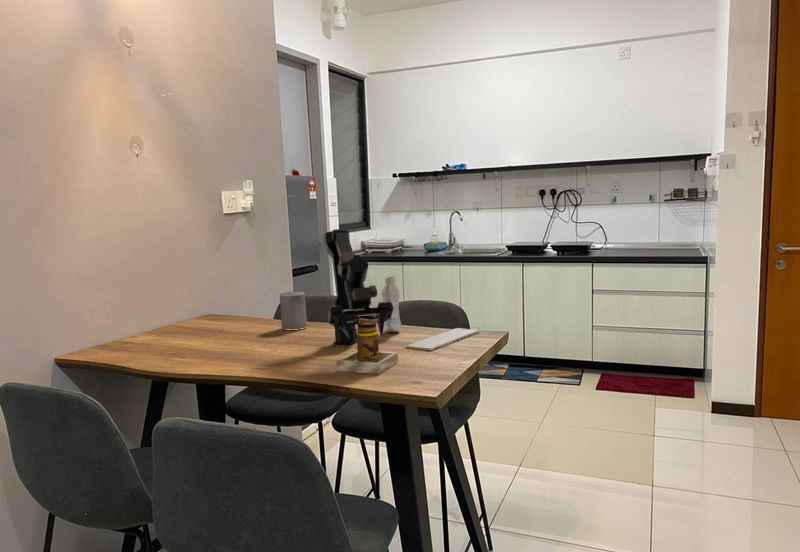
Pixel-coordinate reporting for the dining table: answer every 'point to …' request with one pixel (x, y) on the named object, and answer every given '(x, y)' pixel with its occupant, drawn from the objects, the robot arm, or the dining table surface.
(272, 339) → the dining table surface
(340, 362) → the caddy
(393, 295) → the plastic bottle
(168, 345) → the dining table surface
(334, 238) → the robot arm
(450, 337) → the baseboard molding
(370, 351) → the condiment
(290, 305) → the pillar candle
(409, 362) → the dining table surface
